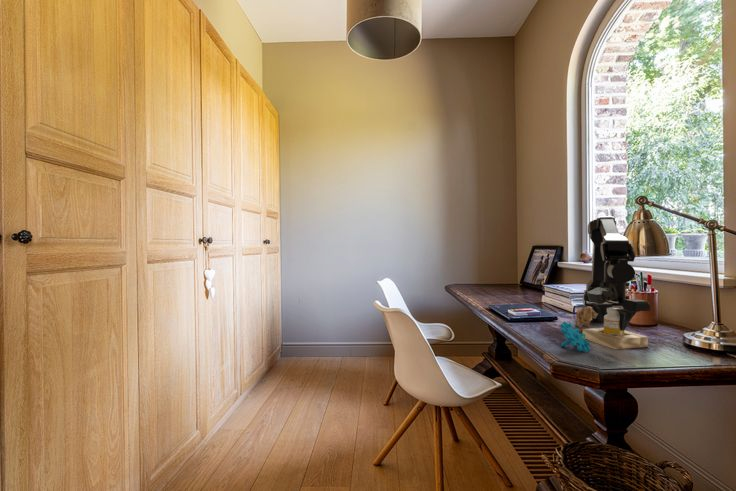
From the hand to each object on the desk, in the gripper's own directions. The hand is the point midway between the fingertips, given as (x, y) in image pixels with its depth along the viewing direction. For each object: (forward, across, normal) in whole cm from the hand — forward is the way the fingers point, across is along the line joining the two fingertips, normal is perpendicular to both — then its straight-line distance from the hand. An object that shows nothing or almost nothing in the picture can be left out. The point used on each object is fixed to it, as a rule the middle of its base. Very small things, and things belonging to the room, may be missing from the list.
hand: (613, 328), depth 114 cm
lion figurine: (+5, -17, +5) cm, 18 cm away
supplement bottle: (+4, 0, 0) cm, 4 cm away
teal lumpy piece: (+5, +3, -17) cm, 18 cm away
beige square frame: (+4, 0, 0) cm, 4 cm away
